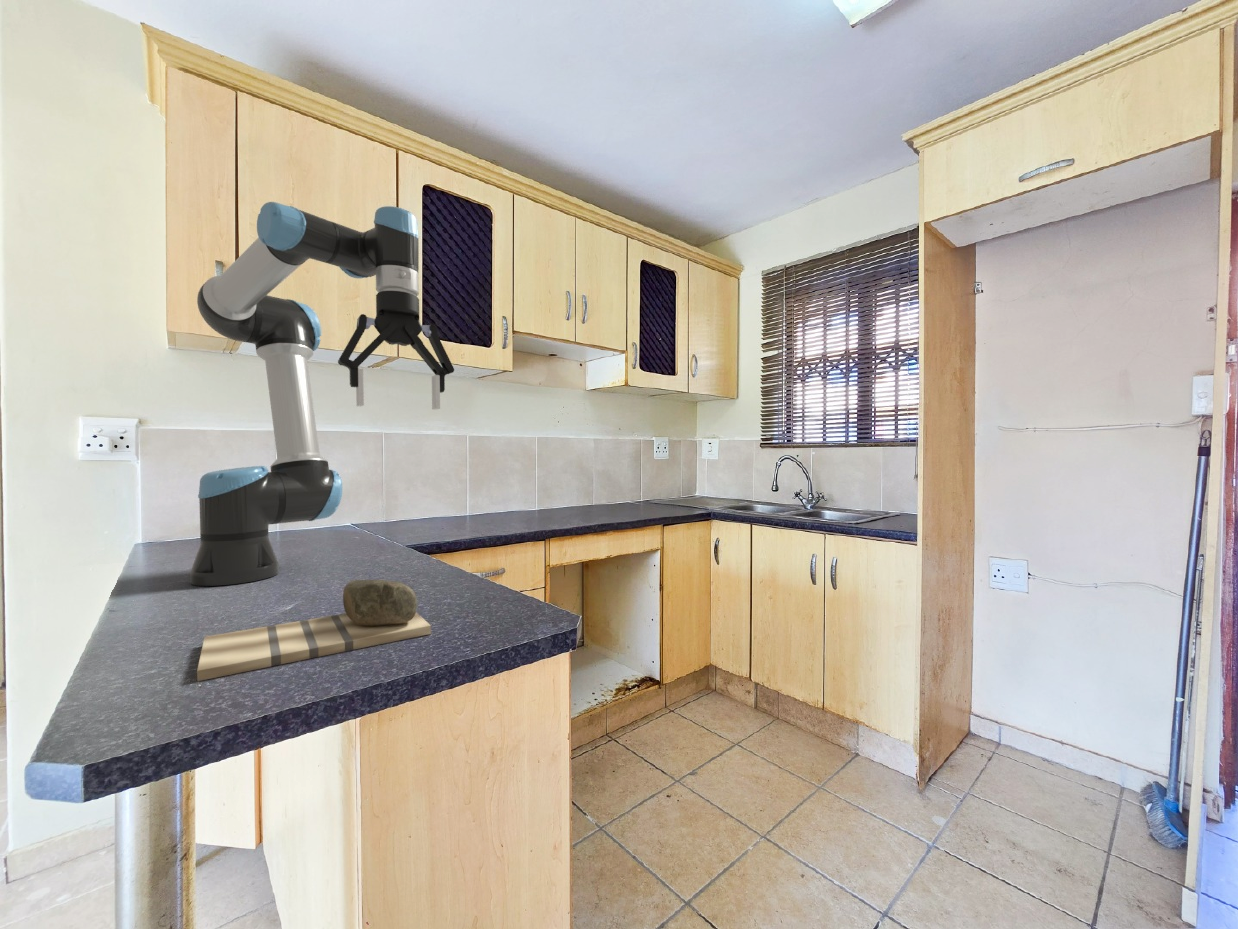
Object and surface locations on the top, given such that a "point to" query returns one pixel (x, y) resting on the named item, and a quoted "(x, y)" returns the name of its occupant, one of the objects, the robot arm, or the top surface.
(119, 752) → the top surface
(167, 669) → the top surface
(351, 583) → the stone
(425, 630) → the board
